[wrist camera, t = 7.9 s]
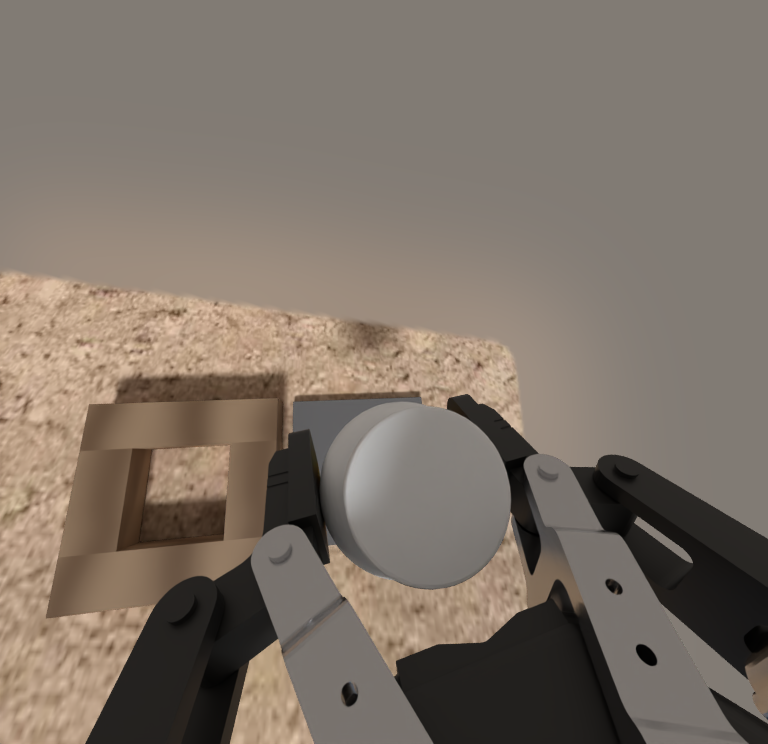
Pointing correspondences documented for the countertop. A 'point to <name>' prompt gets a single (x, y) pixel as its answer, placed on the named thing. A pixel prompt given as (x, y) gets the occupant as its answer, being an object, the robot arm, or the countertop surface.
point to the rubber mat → (332, 422)
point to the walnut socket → (127, 495)
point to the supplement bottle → (415, 495)
